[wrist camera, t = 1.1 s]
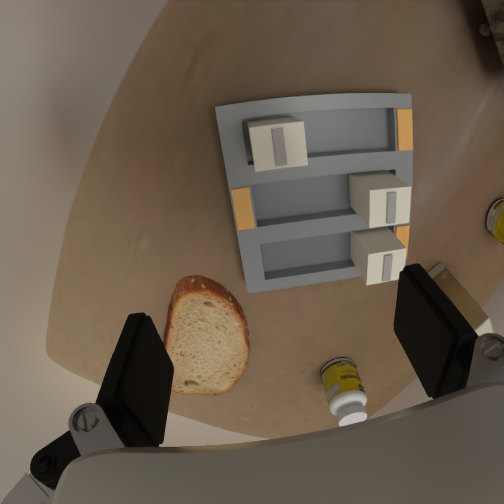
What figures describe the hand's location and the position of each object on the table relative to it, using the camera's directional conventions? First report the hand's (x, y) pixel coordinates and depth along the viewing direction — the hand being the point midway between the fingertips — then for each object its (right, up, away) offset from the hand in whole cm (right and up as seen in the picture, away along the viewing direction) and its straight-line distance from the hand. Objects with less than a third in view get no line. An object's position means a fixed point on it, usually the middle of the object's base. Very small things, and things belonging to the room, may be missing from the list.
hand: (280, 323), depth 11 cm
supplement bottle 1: (+12, -15, +33) cm, 39 cm away
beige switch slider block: (+1, +13, +16) cm, 21 cm away
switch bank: (+6, +9, +20) cm, 23 cm away
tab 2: (+11, +4, +22) cm, 25 cm away
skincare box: (+24, -2, +27) cm, 36 cm away
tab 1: (+11, +9, +19) cm, 23 cm away
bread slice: (-8, -10, +30) cm, 33 cm away
